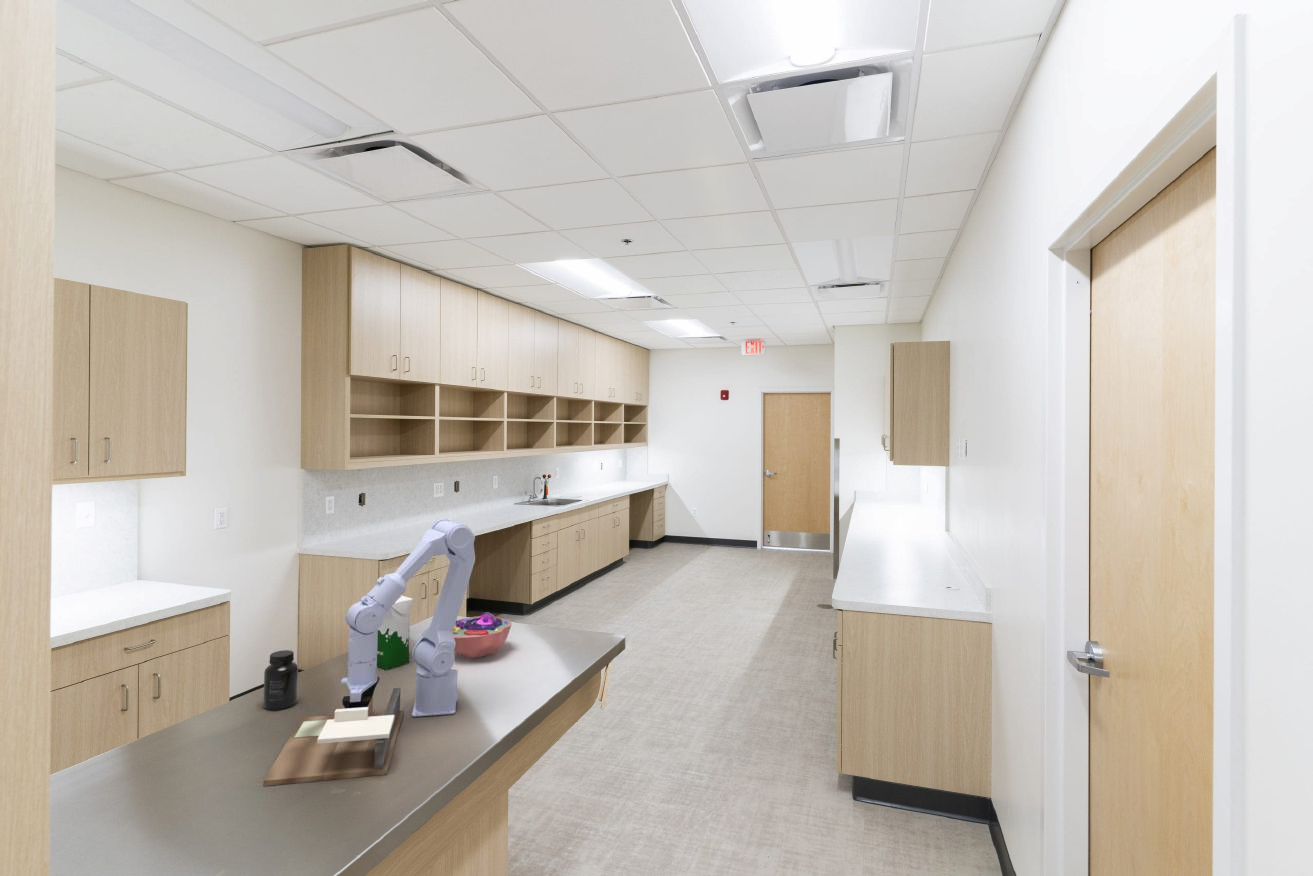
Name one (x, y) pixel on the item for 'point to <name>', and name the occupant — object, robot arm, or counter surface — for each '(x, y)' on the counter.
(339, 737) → the cover
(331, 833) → the counter surface
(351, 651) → the robot arm
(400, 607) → the milk carton
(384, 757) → the board
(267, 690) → the supplement bottle
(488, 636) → the cell model
